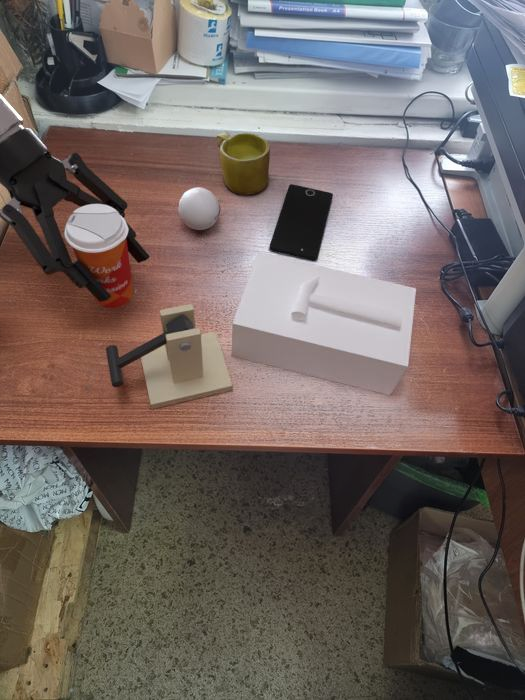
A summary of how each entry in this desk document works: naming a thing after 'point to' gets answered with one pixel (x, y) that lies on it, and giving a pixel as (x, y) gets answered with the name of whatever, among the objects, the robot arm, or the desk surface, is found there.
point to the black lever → (142, 349)
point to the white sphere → (199, 208)
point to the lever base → (185, 364)
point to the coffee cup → (102, 249)
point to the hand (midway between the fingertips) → (125, 278)
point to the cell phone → (301, 222)
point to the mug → (244, 162)
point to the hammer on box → (325, 323)
